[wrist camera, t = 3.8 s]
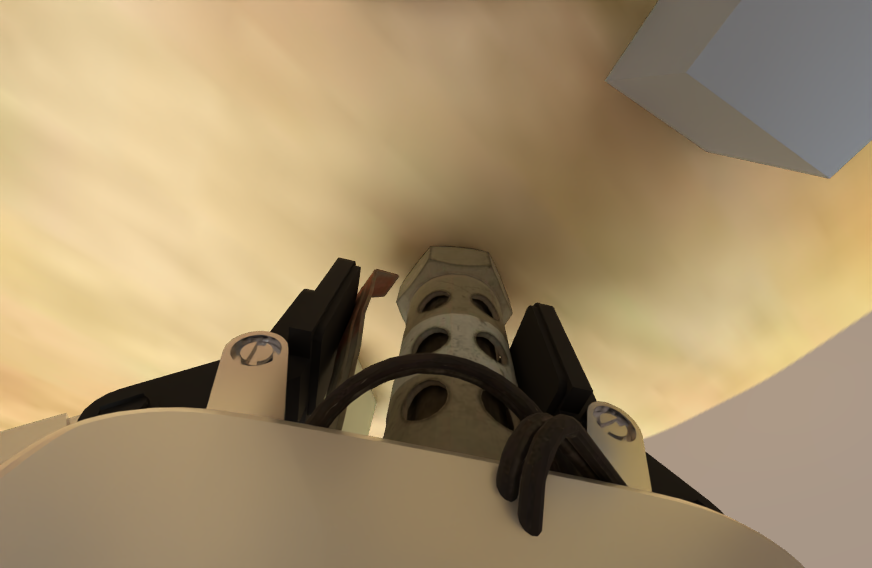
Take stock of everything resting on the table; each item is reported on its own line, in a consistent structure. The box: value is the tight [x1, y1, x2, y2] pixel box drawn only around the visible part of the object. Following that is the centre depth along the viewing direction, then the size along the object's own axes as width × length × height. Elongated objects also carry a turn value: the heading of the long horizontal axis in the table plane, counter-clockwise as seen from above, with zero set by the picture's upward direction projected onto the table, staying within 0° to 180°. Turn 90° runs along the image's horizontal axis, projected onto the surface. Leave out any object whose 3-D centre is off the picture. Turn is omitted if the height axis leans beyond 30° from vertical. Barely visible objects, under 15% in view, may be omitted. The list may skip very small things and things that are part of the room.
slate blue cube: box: [605, 0, 872, 179], centre depth 9 cm, size 5×5×5 cm
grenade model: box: [304, 246, 628, 536], centre depth 9 cm, size 6×7×15 cm
